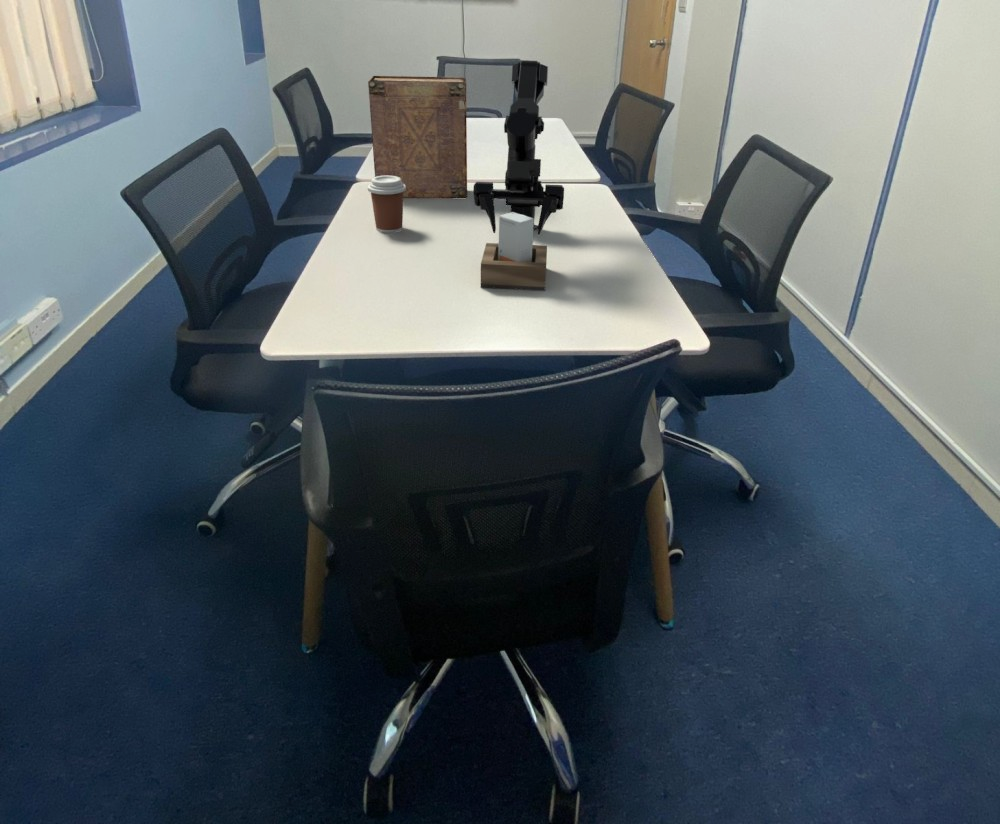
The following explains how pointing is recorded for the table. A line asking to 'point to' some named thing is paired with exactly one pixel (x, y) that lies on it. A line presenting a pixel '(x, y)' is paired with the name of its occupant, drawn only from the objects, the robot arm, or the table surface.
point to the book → (420, 133)
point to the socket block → (513, 270)
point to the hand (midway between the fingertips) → (516, 232)
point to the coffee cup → (387, 202)
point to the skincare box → (515, 237)
